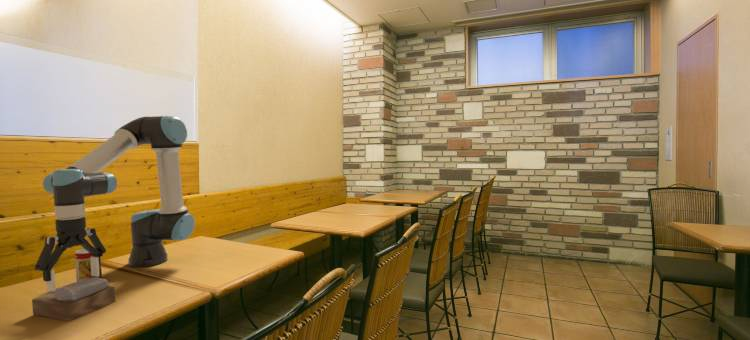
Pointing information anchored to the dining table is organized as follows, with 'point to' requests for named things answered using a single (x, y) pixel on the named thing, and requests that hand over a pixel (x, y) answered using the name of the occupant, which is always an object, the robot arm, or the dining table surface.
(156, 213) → the robot arm
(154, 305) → the dining table surface
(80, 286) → the stone block
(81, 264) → the canned food
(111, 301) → the walnut plinth
